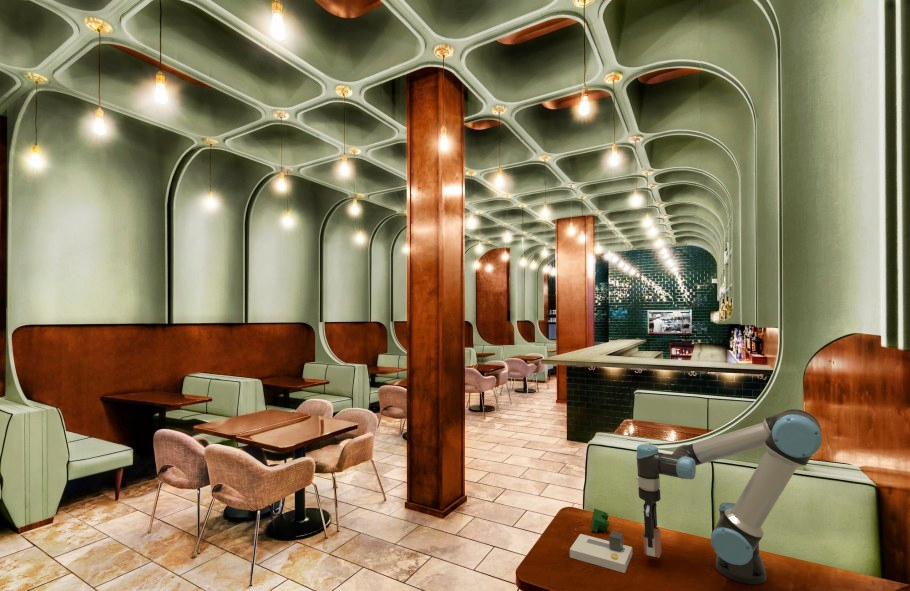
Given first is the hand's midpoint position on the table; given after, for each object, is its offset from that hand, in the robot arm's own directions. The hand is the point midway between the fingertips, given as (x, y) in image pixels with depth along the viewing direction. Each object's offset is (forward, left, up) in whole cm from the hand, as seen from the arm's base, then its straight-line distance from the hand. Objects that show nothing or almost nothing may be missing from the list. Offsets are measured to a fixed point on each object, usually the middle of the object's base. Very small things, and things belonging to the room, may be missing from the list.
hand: (652, 551), depth 164 cm
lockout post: (0, 0, 0) cm, 0 cm away
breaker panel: (+18, +5, -4) cm, 19 cm away
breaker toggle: (+13, +2, -1) cm, 13 cm away
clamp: (+24, -18, -5) cm, 30 cm away
